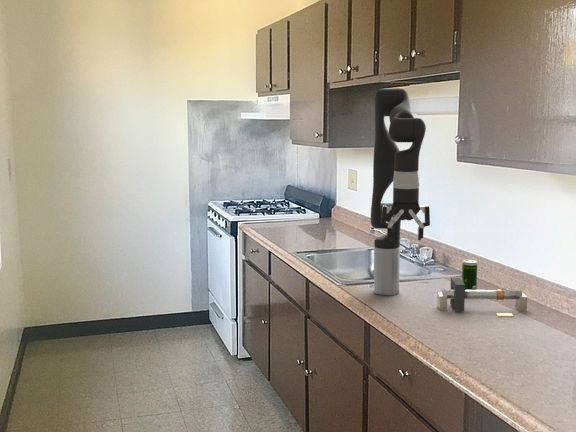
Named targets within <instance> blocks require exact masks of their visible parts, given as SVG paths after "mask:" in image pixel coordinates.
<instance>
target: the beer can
mask: <svg viewBox="0 0 576 432" xmlns="http://www.w3.org/2000/svg"><path fill="white" fill-rule="evenodd" d="M461 265H462V267H461V280H462V282H463V283H464V284H465V290H478V286H477V285H478V261H477V260H474V259H464V260H462V264H461Z"/></svg>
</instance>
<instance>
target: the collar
mask: <svg viewBox="0 0 576 432" xmlns="http://www.w3.org/2000/svg"><path fill="white" fill-rule="evenodd" d="M450 290H454V299H449V304H450V305H451V307H452V309H453V311H454V312H465V301H466V299H465V284H464V283H463V282H462V278H460V277H450Z"/></svg>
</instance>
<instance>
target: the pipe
mask: <svg viewBox="0 0 576 432" xmlns="http://www.w3.org/2000/svg"><path fill="white" fill-rule="evenodd" d="M450 299H454V290H451V289H441V291H438V292H437V301H436V304H437V305H436V306H437V309H438V310H439V311H440V312H441V311H442V312H443V311H444V312H446V311H448V300H450ZM465 300H497V301H504V300H514V301H515V302H514V308H515V309H516V310H517V311H518V312H519V313H523V312H525V313H526V312H527V310H528V296H527V295H526V294H525V293H524V292H523V291H522V290H521V289H520V290H518V289H517V290H516V289H513V290H509V289H508V290H507V289H505V290H504V289H500V288H499V289H496V290H495V289H477V290H465ZM495 315H496V316H497V317H499V318H500V317H501V318H514V317H515V316H514V314H513V313H512V312H511V313H510V312H505V313H504V312H495Z"/></svg>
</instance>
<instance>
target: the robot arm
mask: <svg viewBox="0 0 576 432" xmlns="http://www.w3.org/2000/svg"><path fill="white" fill-rule="evenodd" d="M385 117H389V122H390V124H389V126H388V128H387V126H386V122H385ZM426 130H427V127H426V123H425V121H424V120H423V119H422V118H419V117H414V115H413V113H412V112H411V104H410V98H409V94H408V91H407V90H406V89H403V88H378V89H377V90H376V91H375V95H374V145H373V165H372V167H373V168H372V169H373V171H372V172H373V173H372V174H373V176H372V177H373V179H372V181H373V182H372V198H371V207H370V224H371V226H372V228H373V229H385V230H386V229H387V231H386V234H383V235H381V236H378V237H376V238H375V239H374V245H373V246H374V249H373V250H374V255H373V256H374V257H373V258H374V259H373V260H374V261H373V264H374V265H373V267H374V268H373V269H374V271H373V272H374V273H373V274H374V277H373V281H374V283H373V293H374V294H376V295H381V296H393V295H394V296H396V295H398V294H400V267H401V266H400V257H401V252H400V251H401V249H400V248H401V222H402V221H405V220H406V221H412V220H414V222H415V223H416V224H417V225H418V228H417V240H418V241H422V239H424V229H425V227H429V226H431V217H430V216H431V215H430V213H431V212H430V207H429V205H428V204H425V205H420V204H419V197H420V176H419V173H420V172H419V169H420V167H419V164H420V163H419V162H420V160H419V159H420V152H421V149H422V145H423V142H424V139H425V135H426ZM397 143H411V146H410V147H409V148H407V149H402V150H401V149H399V146H398V145H397ZM392 183H393V184H392ZM391 185H392V188H393V189H392V202H391V203H390V202H384V203H383V202H382V200H383V198H384V195H385V193H386V191H387V190H388V188H389V187H390V186H391ZM420 211H421V212H422V214H424V221H423V222H422V221H421V219H420V218H419V217H418V216H417V215H418V213H419V212H420Z"/></svg>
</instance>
